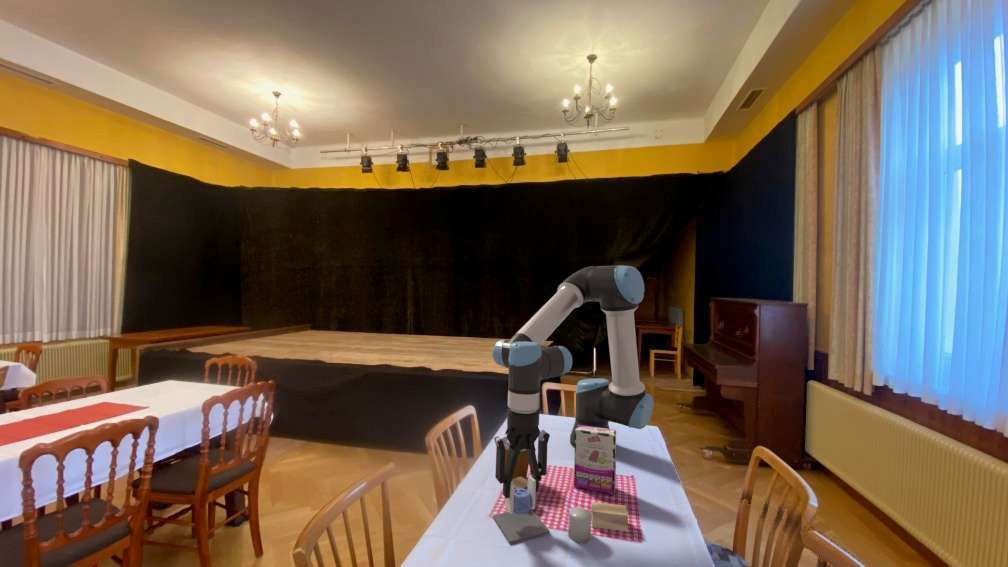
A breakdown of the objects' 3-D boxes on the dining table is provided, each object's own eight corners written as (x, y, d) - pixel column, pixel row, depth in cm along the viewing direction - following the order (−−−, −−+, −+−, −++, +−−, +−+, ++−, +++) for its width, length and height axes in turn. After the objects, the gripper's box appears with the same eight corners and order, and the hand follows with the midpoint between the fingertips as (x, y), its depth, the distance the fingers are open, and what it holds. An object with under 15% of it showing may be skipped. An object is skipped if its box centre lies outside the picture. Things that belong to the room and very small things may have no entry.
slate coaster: (529, 509, 95) (529, 507, 95) (549, 533, 86) (549, 531, 86) (492, 517, 91) (492, 515, 91) (509, 544, 82) (509, 541, 82)
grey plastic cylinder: (582, 526, 89) (582, 505, 89) (595, 540, 84) (595, 517, 84) (564, 531, 87) (564, 510, 87) (576, 545, 82) (576, 522, 82)
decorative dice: (530, 514, 87) (530, 496, 87) (513, 514, 86) (513, 497, 87) (527, 504, 91) (527, 487, 91) (510, 505, 90) (511, 488, 90)
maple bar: (590, 518, 93) (591, 501, 93) (624, 522, 92) (625, 505, 92) (592, 528, 89) (592, 511, 89) (627, 532, 88) (628, 515, 88)
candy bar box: (615, 487, 107) (617, 429, 107) (614, 496, 102) (616, 435, 103) (576, 479, 111) (577, 423, 111) (573, 487, 106) (574, 429, 106)
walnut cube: (520, 494, 102) (520, 476, 102) (532, 503, 98) (533, 484, 98) (505, 500, 99) (506, 481, 99) (518, 510, 95) (518, 490, 95)
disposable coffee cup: (529, 489, 105) (530, 446, 105) (496, 485, 107) (497, 442, 107) (533, 473, 114) (534, 433, 114) (502, 469, 116) (504, 430, 116)
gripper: (548, 400, 96) (546, 492, 96) (482, 407, 89) (479, 506, 89) (564, 409, 89) (561, 509, 89) (493, 417, 82) (490, 525, 82)
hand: (520, 507), depth 89 cm, fingers closed on decorative dice, 5 cm apart
